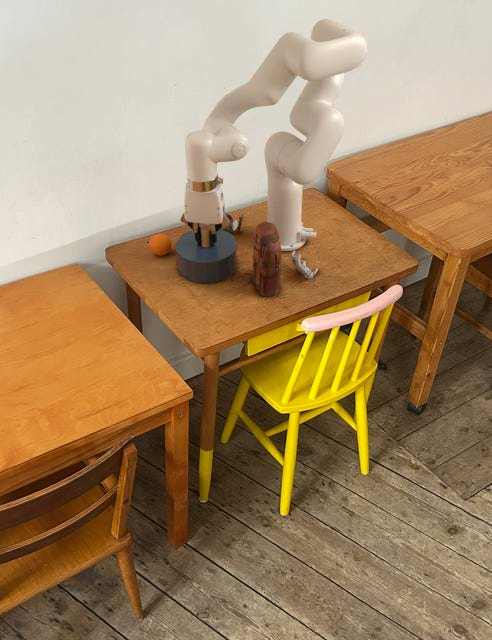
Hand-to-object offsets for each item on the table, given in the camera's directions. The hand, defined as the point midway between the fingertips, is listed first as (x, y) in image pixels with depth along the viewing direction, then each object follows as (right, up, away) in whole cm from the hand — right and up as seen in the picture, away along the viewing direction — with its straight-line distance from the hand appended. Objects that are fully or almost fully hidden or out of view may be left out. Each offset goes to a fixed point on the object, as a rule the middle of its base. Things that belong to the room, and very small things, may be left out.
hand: (206, 242), depth 197 cm
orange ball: (-13, +1, +8) cm, 15 cm away
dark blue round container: (0, -6, +5) cm, 7 cm away
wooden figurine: (+16, -11, -1) cm, 20 cm away
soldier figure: (+26, -8, +3) cm, 27 cm away
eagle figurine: (+5, +6, +18) cm, 20 cm away
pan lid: (0, -1, +1) cm, 1 cm away
